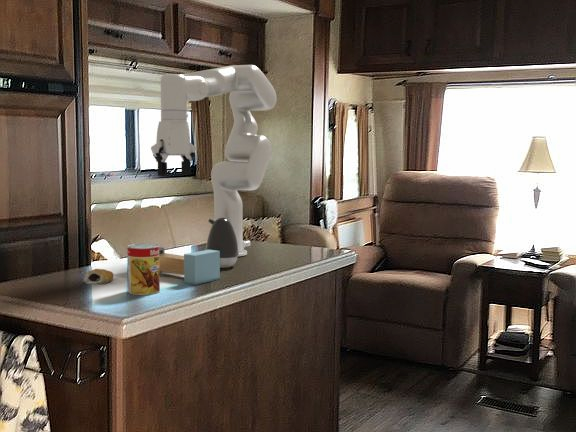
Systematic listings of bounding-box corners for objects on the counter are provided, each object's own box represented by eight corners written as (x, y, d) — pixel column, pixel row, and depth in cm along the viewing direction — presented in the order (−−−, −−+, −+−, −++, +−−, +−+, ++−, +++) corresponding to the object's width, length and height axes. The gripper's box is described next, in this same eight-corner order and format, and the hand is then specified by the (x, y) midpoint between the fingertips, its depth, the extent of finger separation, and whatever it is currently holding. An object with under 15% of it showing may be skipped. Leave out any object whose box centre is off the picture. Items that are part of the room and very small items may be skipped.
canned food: (161, 294, 177) (160, 247, 175) (129, 296, 175) (128, 248, 173) (158, 287, 184) (157, 242, 183) (127, 289, 182) (126, 243, 181)
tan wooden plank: (157, 267, 207) (157, 250, 207) (208, 275, 195) (208, 258, 195) (144, 269, 203) (144, 252, 203) (195, 278, 191) (195, 260, 191)
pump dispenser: (220, 262, 223) (219, 215, 221) (245, 266, 217) (245, 217, 215) (198, 267, 214) (197, 217, 213) (224, 271, 208) (223, 220, 207)
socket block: (209, 277, 198) (209, 249, 198) (219, 279, 196) (219, 251, 195) (184, 283, 190) (184, 254, 189) (194, 285, 188) (194, 255, 187)
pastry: (96, 277, 198) (96, 264, 197) (119, 279, 197) (119, 265, 196) (82, 284, 189) (81, 270, 188) (105, 285, 188) (105, 271, 187)
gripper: (185, 117, 215) (185, 173, 217) (142, 116, 201) (143, 175, 203) (203, 117, 210) (203, 174, 212) (161, 115, 196) (161, 176, 198)
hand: (174, 175), depth 207 cm, fingers open, 9 cm apart
